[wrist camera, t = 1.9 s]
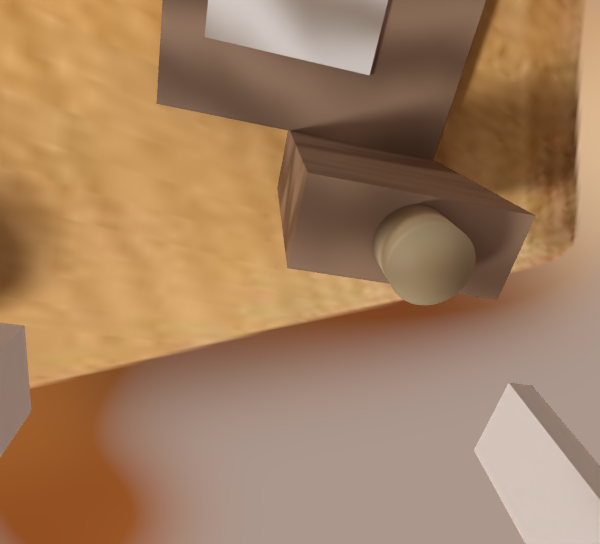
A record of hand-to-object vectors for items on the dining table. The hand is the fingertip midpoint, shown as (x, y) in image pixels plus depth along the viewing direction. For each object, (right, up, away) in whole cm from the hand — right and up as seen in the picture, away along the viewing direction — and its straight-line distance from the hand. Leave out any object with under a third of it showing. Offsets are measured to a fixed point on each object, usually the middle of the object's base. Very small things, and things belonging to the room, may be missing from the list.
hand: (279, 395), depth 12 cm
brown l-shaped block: (+2, +19, +21) cm, 28 cm away
